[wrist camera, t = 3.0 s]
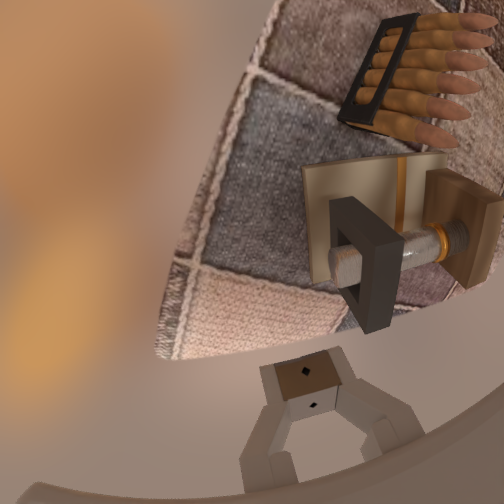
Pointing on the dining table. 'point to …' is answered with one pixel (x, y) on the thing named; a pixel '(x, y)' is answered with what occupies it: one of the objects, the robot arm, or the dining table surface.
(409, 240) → the steel pipe
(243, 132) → the dining table surface
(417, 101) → the ammunition clip
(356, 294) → the collar
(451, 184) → the pipe stand
